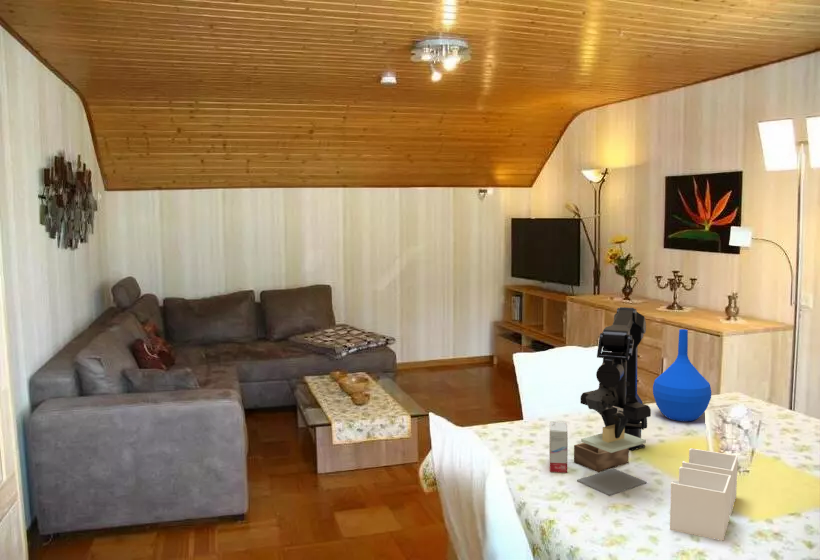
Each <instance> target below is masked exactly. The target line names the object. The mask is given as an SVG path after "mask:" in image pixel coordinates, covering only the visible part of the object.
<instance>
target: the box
mask: <svg viewBox="0 0 820 560" xmlns="http://www.w3.org/2000/svg"><path fill="white" fill-rule="evenodd" d="M598 449H599V448H596V447H594V446H591V445H588V444H586V443H583V442H581V443H577V444H574V446H573V463H575V464H577V465H580V466H582V467H584V468H586V469H589V470H591V471H594V472H596V473H600V472H604V471H607V470H610V469H613V468H614V469H615V468H617V467H621V466H623V465H624V466H625V465H627V464H629V459H630V458H629V455H630V454H629V453H630V452H629V451H630V450H629V448H627V449H623V450H620V451H616V452H613V453H610V452H607V451H605V452H601V453H598Z"/></svg>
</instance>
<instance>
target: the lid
mask: <svg viewBox="0 0 820 560" xmlns="http://www.w3.org/2000/svg"><path fill="white" fill-rule="evenodd" d="M580 442H581V443H586V444H588V445H591V446H594V447H596V448H599V449H602V450H605V451H607V452H610V453H613V452H616V451H620V450H623V449H627V448H630V447H634V446H637V445H641V444H644V445H645V444H646V443H647V440H646V439H644V438H642V437H641V438H638V437H635V436H632V435H629V434H626V433H625V428H624V430H623V431H622V433H621V435H620V437H619V438H615V424H614V425H610V426H606V427H605V426H603V427H602V433H599V434H595V435H591V436H587V437H583V438H581V440H580Z"/></svg>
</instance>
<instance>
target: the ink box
mask: <svg viewBox="0 0 820 560" xmlns="http://www.w3.org/2000/svg"><path fill="white" fill-rule="evenodd" d="M568 442H569V441H568V423H567V422H565V421H549V450H548V451H549V472H550V473H564V474H566V473H568V457H569V456H568V447H569V446H568Z"/></svg>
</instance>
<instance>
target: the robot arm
mask: <svg viewBox="0 0 820 560" xmlns="http://www.w3.org/2000/svg"><path fill="white" fill-rule="evenodd" d="M646 330H647V321H646V316H644V315H643V314H641V313H640V312H638V311H637V308H634V307H625V306H624V307H623V306H622V307H617V308H616V313H615V314H614V316H613V322H612V324H611V325H607V326H605V327H604V329H603V330H602V332H600V334H599V339H598V345H597V353H596V358H599V359H602V364H601V365H600V366H599V367H598V368H597V370H596V373H595V375H596V379H597V382H598V388H597V389H595V390H588V391H585V392H582V394H581V395H580V404H581V405H585V406H587V407H588V410H594V411H595V412H597V413H598V414H599V415H600V416H601V419H602V421H603V423H604V427H606V426H610V425H614V424H615V438H619V437H620V435H621V433H622V431H623V430H624V428H625V433H626V434H629V435H632V436H635V437H638V438H641V439H642V431H643V430H645V429H648V418H649V417H651V414H652V409H651V407H650V406H649V405H648V404H644V402H643V400H642V398H641V397H640V395H639V394H638V348H639V347H638V346H639V344H640V343H641V342H642V339H643V338H644V334H646V332H647V331H646ZM645 447H646V445H645V443H644V444H641V445H637V446H634V447H630V448H629V451H636V450H639V449H641V448H645Z"/></svg>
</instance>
